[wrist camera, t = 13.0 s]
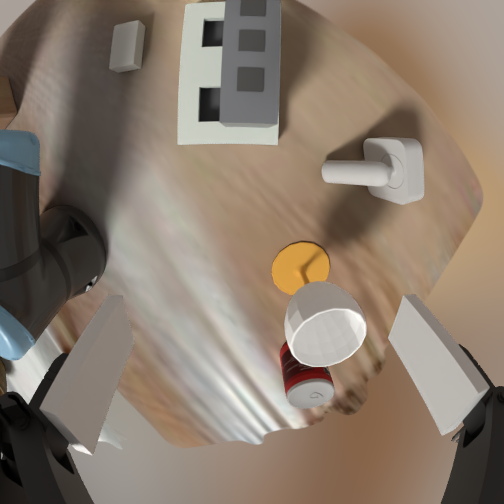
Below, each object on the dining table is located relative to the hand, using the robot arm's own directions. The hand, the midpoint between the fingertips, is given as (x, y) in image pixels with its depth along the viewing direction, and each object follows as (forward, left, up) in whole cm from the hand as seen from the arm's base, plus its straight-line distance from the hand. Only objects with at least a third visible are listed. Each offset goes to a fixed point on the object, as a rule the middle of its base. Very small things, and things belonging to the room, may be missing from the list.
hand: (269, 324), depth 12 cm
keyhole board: (-3, +17, -27) cm, 32 cm away
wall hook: (+15, +5, -27) cm, 31 cm away
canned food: (+10, -28, -27) cm, 40 cm away
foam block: (-17, +22, -27) cm, 39 cm away
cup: (+8, -11, -27) cm, 30 cm away
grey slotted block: (-1, +17, -26) cm, 31 cm away
